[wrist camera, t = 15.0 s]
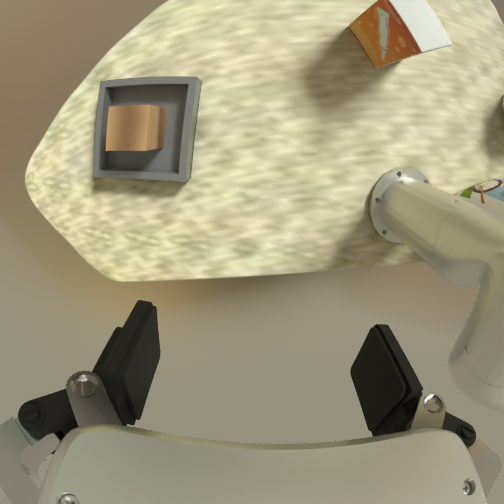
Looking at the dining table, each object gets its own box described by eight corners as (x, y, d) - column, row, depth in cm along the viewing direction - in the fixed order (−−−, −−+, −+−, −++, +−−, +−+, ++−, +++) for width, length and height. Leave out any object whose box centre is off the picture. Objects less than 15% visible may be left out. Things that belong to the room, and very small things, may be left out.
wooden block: (167, 108, 33) (150, 104, 26) (163, 147, 35) (146, 150, 28) (131, 109, 32) (108, 106, 26) (128, 146, 34) (105, 150, 28)
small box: (346, 26, 28) (383, -7, 16) (377, 17, 26) (419, -12, 15) (375, 70, 31) (422, 53, 19) (404, 59, 29) (454, 44, 17)
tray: (201, 81, 32) (197, 76, 29) (190, 177, 38) (185, 182, 34) (111, 84, 31) (100, 81, 28) (104, 172, 37) (93, 177, 33)
